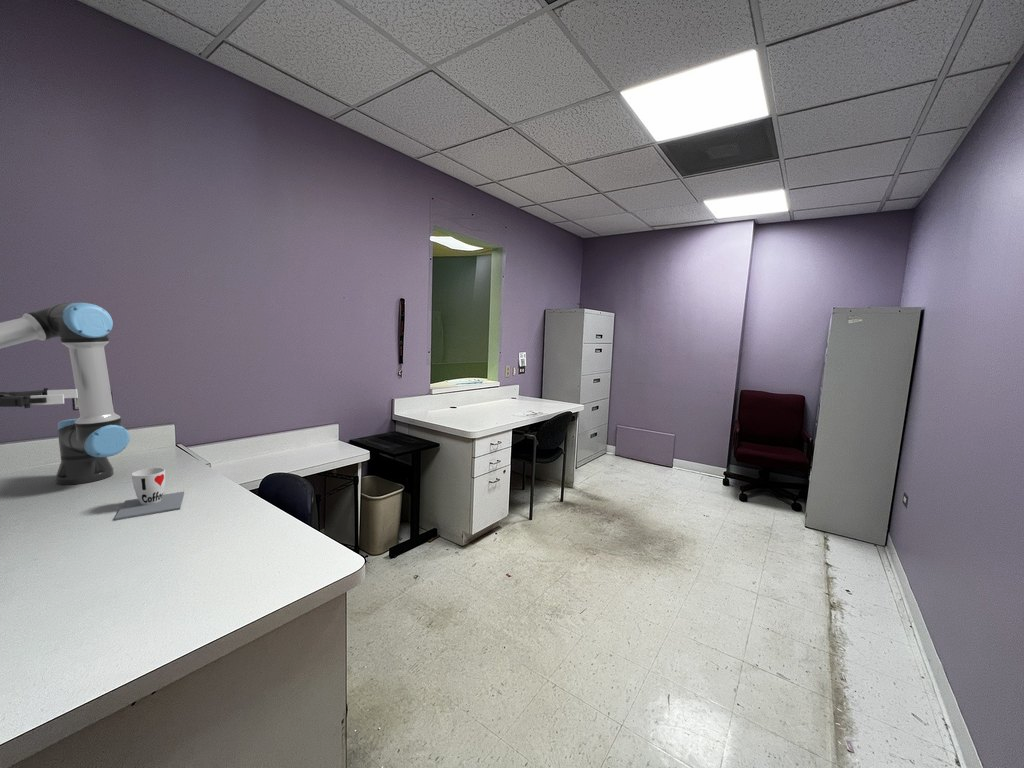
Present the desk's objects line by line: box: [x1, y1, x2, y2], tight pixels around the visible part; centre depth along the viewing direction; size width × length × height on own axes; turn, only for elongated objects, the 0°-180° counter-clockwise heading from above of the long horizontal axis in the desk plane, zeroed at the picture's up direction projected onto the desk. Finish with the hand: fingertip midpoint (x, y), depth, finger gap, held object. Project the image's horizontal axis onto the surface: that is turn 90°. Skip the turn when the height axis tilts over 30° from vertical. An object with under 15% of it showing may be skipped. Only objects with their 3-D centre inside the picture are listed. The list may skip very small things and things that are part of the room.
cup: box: [131, 467, 166, 505], centre depth 133 cm, size 8×8×10 cm
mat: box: [114, 491, 185, 521], centre depth 132 cm, size 16×15×1 cm
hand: (70, 396), depth 128 cm, fingers open, 13 cm apart
